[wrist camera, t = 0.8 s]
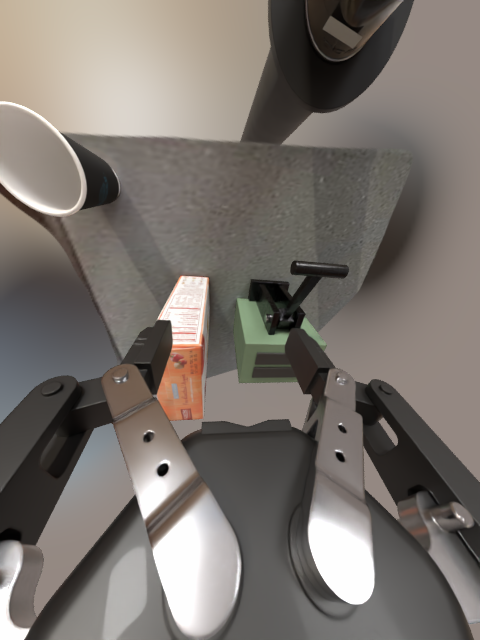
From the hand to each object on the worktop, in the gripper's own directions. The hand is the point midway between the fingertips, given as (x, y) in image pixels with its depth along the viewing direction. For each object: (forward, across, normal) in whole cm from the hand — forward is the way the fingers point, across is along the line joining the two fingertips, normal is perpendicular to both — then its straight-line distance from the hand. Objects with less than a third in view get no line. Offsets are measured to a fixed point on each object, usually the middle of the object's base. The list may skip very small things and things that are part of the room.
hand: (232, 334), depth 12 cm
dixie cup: (+25, +18, -8) cm, 32 cm away
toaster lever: (+12, -10, +2) cm, 16 cm away
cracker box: (+25, +5, +12) cm, 28 cm away
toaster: (+25, -10, +13) cm, 30 cm away
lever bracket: (+25, -10, +7) cm, 28 cm away
